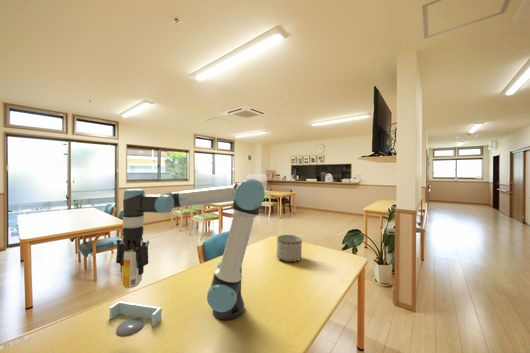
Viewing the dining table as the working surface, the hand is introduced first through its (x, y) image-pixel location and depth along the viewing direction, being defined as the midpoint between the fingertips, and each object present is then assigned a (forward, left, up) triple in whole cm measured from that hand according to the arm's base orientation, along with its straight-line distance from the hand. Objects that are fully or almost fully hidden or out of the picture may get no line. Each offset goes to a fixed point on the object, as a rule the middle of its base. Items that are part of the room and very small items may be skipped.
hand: (131, 280), depth 91 cm
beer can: (0, 0, -2) cm, 2 cm away
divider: (+2, -5, -19) cm, 20 cm away
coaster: (0, 0, -19) cm, 19 cm away
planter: (-60, -93, -20) cm, 112 cm away
